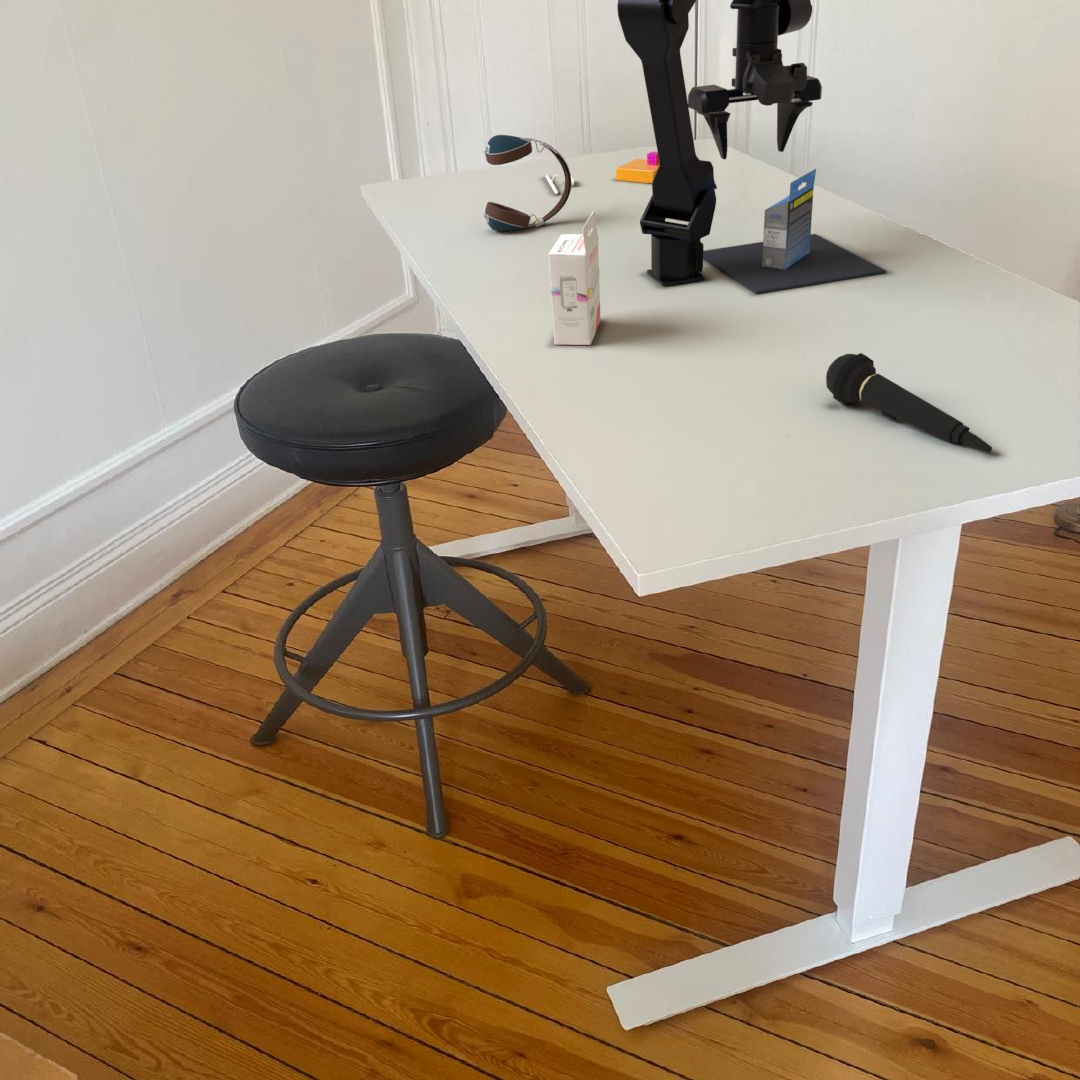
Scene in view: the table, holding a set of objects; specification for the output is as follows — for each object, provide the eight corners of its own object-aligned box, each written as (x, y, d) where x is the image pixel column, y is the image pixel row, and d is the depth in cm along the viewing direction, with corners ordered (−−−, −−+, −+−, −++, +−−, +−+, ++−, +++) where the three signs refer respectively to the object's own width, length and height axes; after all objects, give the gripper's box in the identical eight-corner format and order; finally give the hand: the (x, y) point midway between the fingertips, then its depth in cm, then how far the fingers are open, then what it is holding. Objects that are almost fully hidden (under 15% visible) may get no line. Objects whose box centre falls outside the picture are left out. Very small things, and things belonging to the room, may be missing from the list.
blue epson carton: (786, 250, 166) (791, 165, 160) (810, 253, 164) (817, 168, 158) (760, 267, 160) (765, 180, 153) (785, 271, 158) (791, 182, 151)
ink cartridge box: (564, 321, 147) (559, 209, 139) (601, 322, 146) (598, 209, 138) (551, 345, 140) (545, 228, 132) (590, 346, 139) (586, 228, 131)
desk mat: (756, 294, 152) (756, 291, 151) (696, 254, 168) (696, 251, 168) (885, 273, 156) (886, 270, 156) (814, 236, 173) (815, 233, 172)
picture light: (544, 177, 214) (544, 166, 213) (567, 175, 215) (566, 164, 214) (555, 195, 203) (554, 183, 201) (578, 193, 203) (578, 181, 202)
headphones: (446, 237, 179) (574, 232, 185) (445, 139, 172) (579, 137, 178) (437, 228, 184) (562, 223, 191) (436, 132, 177) (567, 130, 183)
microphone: (991, 474, 111) (837, 393, 124) (1016, 422, 109) (857, 344, 121) (963, 477, 108) (807, 393, 120) (989, 423, 105) (828, 343, 118)
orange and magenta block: (653, 183, 206) (653, 160, 204) (615, 180, 210) (615, 156, 208) (673, 173, 211) (673, 150, 209) (636, 170, 215) (636, 147, 213)
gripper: (719, 55, 148) (716, 174, 157) (845, 41, 152) (836, 158, 160) (687, 45, 158) (685, 158, 166) (806, 32, 162) (799, 143, 170)
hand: (752, 155), depth 165 cm, fingers open, 9 cm apart
